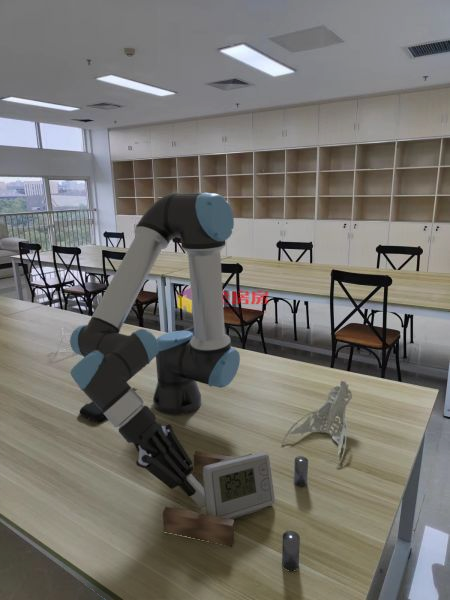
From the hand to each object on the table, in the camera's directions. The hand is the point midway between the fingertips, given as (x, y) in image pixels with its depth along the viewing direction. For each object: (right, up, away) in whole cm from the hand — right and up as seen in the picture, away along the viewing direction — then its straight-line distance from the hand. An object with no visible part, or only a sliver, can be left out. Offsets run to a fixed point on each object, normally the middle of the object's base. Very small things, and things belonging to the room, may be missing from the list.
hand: (205, 501), depth 86 cm
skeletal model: (+32, +5, +28) cm, 43 cm away
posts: (+19, -3, -1) cm, 19 cm away
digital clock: (+7, -2, +1) cm, 7 cm away
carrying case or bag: (-33, +7, +43) cm, 55 cm away
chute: (+1, -2, +4) cm, 4 cm away
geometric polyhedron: (-61, +20, +91) cm, 111 cm away
